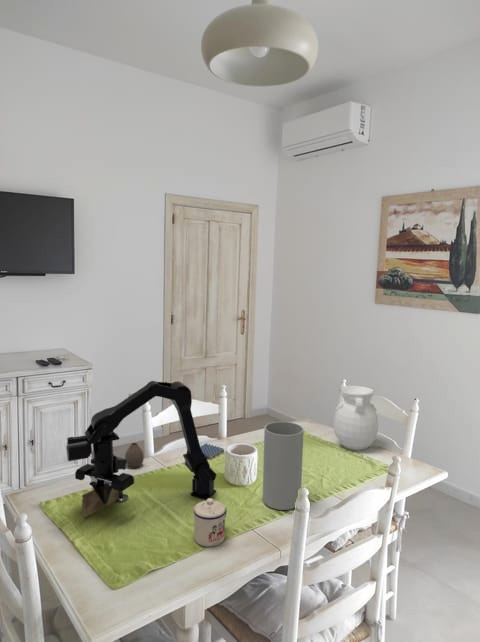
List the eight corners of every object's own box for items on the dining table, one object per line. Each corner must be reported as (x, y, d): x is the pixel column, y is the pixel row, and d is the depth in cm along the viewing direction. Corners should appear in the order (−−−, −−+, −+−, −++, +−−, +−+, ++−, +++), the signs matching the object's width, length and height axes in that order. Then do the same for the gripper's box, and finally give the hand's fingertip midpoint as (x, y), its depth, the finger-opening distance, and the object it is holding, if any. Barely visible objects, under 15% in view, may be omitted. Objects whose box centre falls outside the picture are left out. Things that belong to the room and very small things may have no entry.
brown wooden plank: (86, 517, 145) (85, 496, 144) (81, 515, 146) (81, 495, 145) (119, 498, 157) (119, 479, 156) (115, 496, 158) (114, 478, 157)
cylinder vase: (275, 488, 167) (277, 419, 164) (307, 499, 160) (310, 427, 157) (255, 503, 157) (257, 429, 154) (288, 515, 150) (291, 438, 147)
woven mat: (189, 455, 195) (189, 450, 195) (205, 447, 204) (205, 442, 204) (209, 461, 189) (209, 456, 189) (225, 453, 198) (225, 448, 198)
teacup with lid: (211, 551, 131) (212, 511, 129) (186, 539, 136) (186, 501, 135) (237, 532, 141) (238, 494, 139) (213, 521, 146) (214, 485, 144)
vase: (139, 470, 179) (139, 448, 178) (121, 468, 180) (121, 446, 179) (146, 463, 186) (146, 441, 185) (129, 461, 187) (129, 439, 186)
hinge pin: (131, 497, 159) (131, 477, 158) (121, 504, 155) (121, 483, 154) (119, 493, 162) (119, 474, 161) (109, 500, 157) (109, 480, 156)
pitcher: (331, 436, 217) (334, 382, 214) (373, 439, 215) (376, 385, 211) (333, 453, 199) (336, 394, 196) (379, 456, 196) (383, 397, 193)
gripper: (144, 450, 149) (146, 498, 151) (98, 440, 157) (100, 485, 160) (120, 464, 139) (122, 515, 141) (72, 452, 148) (75, 500, 150)
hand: (105, 503), depth 148 cm, fingers closed
